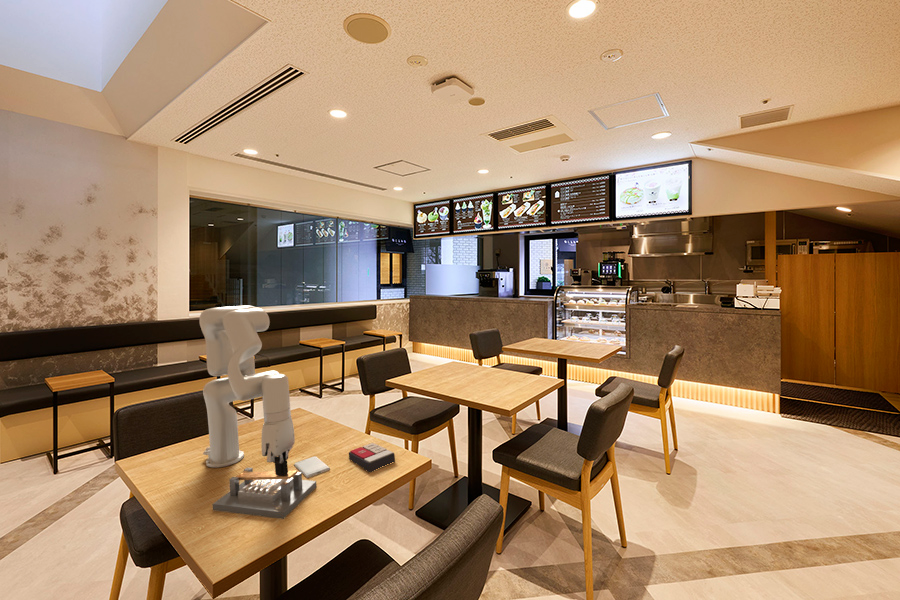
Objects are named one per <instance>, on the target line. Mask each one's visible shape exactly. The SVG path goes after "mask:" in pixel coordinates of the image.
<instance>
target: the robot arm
mask: <svg viewBox="0 0 900 600" xmlns="http://www.w3.org/2000/svg"><path fill="white" fill-rule="evenodd" d="M270 323H271V321H270V317H269V315H268V313H267V312H266V311H265V309H263V308H260V307H257V306H253V305H236V306H235V305H233V306H221V307H220V306H219V307H217V306H216V307H211V308H206V309H205V310H203V311H202V312H200V315H199V326H200V328H201V333H202V334H203V336H204V339H205V340H204V341H205V352H206V353H205V354H206V356H205V357H206V368H207V373H208V374H209V375H210V376H213V377H221V376H225V377H221V378H216V379H213V380H210V381H209V382H207V383H205V385H204V386H203V390H202V394H203V399H204V402H205V407H206V412H207V414H206V415H207V424H208V439H209V446H207V447H206V448H205V450H204V451H203V455H204V456H208V457H207V459H206V460H205V464H206V466H207V467H208V468H222V467H223V468H225V467H227V466H231V465H233V464H236V463H238V462H240V461H241V460H242V459H243V458H244V457H245V452H244V451H242V450H240V443H239V442H240V441H239V426H238V425H239V424H238V412H237V410H236V409H235V408H234V407H233V406H232V405H230V403H233V402H235V401H244V402H245V401H250V400H254V399H258V398H261V399H262V409H263V410H262V411H263V423H262V428H261V456H262V457H266V463H272V464H274V471H275V473H276V475H281V476H284V475H285V474H287V473H288V471H289V469H288V467H289V466H288V460H289V453H290V452H291V450H292V449H293V447H294V445H295V439H296V438H295V429H294V422H293V418H292V411H291V398H290V397H291V396H290V385H289V384H290V383H289V377H288V376H287V375H286V374H283V373H280V372H279V371H277V370H268V371H267V370H266V371H263V372H257V373H256V368H255V367H256V366H255V363H256V362H255V357H254V356H255V355H256V354H257V353H259V352H260V351H261V349H262V346H263V342H262V340H261V338H260V336H259V334H258V332H265V331H267V330H268V329H269V328H270V327H269V326H270ZM226 375H227V376H226Z"/></svg>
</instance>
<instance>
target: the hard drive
mask: <svg viewBox="0 0 900 600" xmlns="http://www.w3.org/2000/svg"><path fill="white" fill-rule="evenodd" d="M293 464H294V467H295V468H296V469H297V471H298V472H302V474H303V476H304V477H306V478H307V479H308V478H311V477H314V476H316V475H317V476H318V475H320V474H322V473H326V472H328V471H331V469H330V466H328V465H327V464H326V463H325V462H324V461H323V460H321V459H320V458H319V457H317V456H316V455H315V456H311V457H308V458H305V459H302V460H300V461H297V462H294V463H293Z"/></svg>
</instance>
